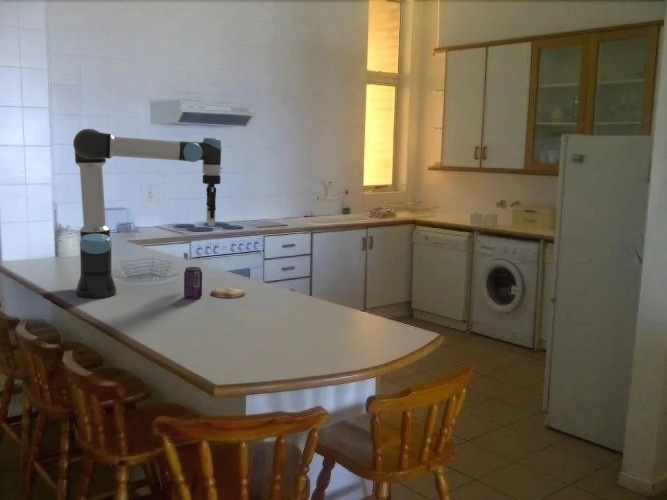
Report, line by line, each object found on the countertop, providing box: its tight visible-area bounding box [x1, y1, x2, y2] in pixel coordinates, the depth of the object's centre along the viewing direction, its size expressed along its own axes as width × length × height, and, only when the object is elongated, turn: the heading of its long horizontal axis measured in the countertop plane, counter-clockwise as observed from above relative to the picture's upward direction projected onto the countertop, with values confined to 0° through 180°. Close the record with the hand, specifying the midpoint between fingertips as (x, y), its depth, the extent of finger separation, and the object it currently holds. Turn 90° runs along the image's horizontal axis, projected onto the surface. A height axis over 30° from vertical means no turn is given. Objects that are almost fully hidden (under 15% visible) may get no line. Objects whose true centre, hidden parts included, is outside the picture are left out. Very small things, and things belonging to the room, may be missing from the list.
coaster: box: [210, 287, 246, 299], centre depth 287 cm, size 14×14×1 cm
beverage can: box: [183, 266, 203, 300], centre depth 277 cm, size 7×7×12 cm
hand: (210, 223), depth 300 cm, fingers open, 13 cm apart
